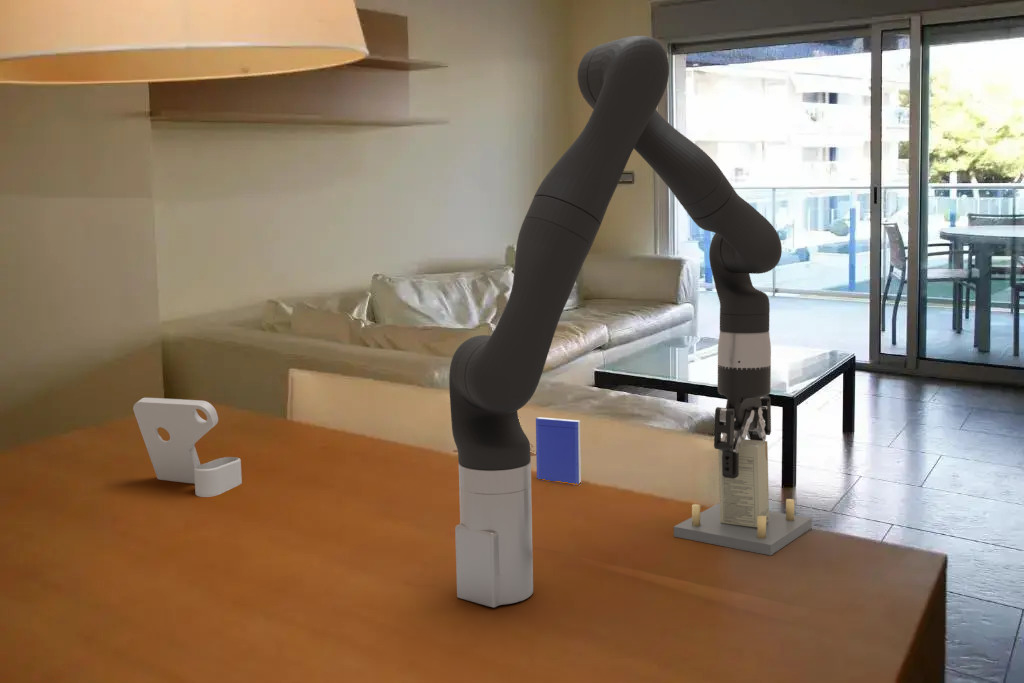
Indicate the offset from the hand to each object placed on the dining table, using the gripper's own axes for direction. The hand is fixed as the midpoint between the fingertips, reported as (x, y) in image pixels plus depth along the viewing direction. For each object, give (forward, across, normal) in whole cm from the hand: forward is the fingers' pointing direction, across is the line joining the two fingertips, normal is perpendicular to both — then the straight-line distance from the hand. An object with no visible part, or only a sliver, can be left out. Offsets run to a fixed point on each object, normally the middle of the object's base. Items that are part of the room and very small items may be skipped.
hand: (743, 471), depth 143 cm
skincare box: (+8, 0, 0) cm, 8 cm away
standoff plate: (+9, 0, 0) cm, 9 cm away
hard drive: (+10, +5, +37) cm, 38 cm away
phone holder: (+10, -34, +88) cm, 95 cm away
